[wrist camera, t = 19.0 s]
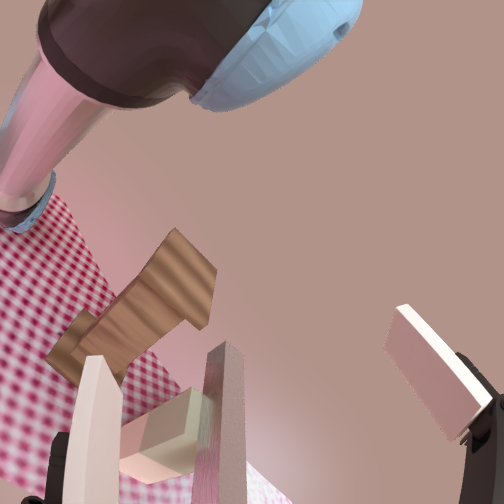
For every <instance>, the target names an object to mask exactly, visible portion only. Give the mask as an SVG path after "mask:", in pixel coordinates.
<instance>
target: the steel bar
mask: <svg viewBox="0 0 504 504" xmlns="http://www.w3.org/2000/svg"><path fill="white" fill-rule="evenodd" d="M243 361H244V359H243V354H242V353H241V352H239V351H238V350H237V349H236V348H234V347H233V346H232V345H231V344H229V343H228V342H227V341H224V342H223V343H221V344H220V345H219V346H217V347H216V348H214V349H213V350H212V351H210V352H209V353H208V355H207V363H206V371H205V378H204V387H203V395H202V403H201V411H200V420H199V429H198V438H197V447H196V457H195V467H194V477H193V488H192V499H191V504H247V481H246V450H245V449H246V448H245V407H244V364H243V363H244V362H243Z"/></svg>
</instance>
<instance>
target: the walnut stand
mask: <svg viewBox="0 0 504 504" xmlns="http://www.w3.org/2000/svg"><path fill="white" fill-rule="evenodd" d="M216 274H217V269H216V268H215V267H214V266H213V265H212V264H211V263H210V262H209V261H208V260H207V259H206V258H205V257H204V256H203V255H202V254H201V253H200V252H199V251H198V250H197V249H196V248H195V247H194V246H193V245H192V244H191V243H190V242H189V241H188V240H187V239H186V238H185V237H184V236H183V235H182V234H181V233H180V232H179V231H178V230H177V229H176V228H174V229H173V230H172V231H171V232H170V233H169V234H168V235H167V236H166V238H165V239H164V240H163V242H162V243H161V244H160V246H159V247H158V249H157V250H156V251H155V253H154V254H153V255H152V257H151V258H150V260H149V261H148V262H147V264H146V265H145V266H144V268H143V269H142V271H141V272H140V273H139V275H138V276H137V277H136V278H135V279H134V280H133V281H132V282H131V283H130V284H129V285H128V286H127V287H126V288H125V289H124V290H123V291H122V292H121V293H120V294H119V295H118V296H117V297H116V298H115V299H114V300H113V301H112V302H111V304H110V305H109V306H108V307H107V308H106V309H105V310H104V311H103V312H102V313H101V314H100V315H99V316H98V317H97V319H96V318H95V317H93V316H92V315H91V314H90V313H89V312H88V311H87V310H86V309H85V308H84V309H83V310H82V311H81V312H80V314H79V315H78V316H77V317H76V319H75V320H74V321H73V322H72V324H71V325H70V326H69V328H68V329H67V330H66V331H65V333H64V334H63V335H62V337H61V338H60V339H59V341H58V342H57V343H56V345H55V346H54V347H53V349H52V350H51V352H50V353H49V354H48V356H47V357H46V358H45V361H46V362H47V363H48V364H49V365H50V366H52V367H53V368H54V369H55V370H56V371H57V372H58V373H59V374H61V375H62V376H63V377H64V378H65V379H67V380H68V381H69V382H70V383H71V384H73V385H74V386H75V387H76V388H78V389H79V385H80V381H81V377H82V373H83V369H84V365H85V361H86V357H87V356H95V355H103V357H104V359H105V361H106V363H107V365H108V367H109V369H110V371H111V373H112V375H113V377H114V379H115V380H116V382H117V384H118V386H119V388H120V386H121V384H122V381H123V379H124V376H125V374H126V372H127V369H128V367H129V365H130V362H132V361H133V360H134V359H135V358H137V357H138V356H139V355H140V354H142V353H143V352H144V351H145V350H147V349H148V348H149V347H151V346H152V345H153V344H154V343H156V342H157V341H158V340H159V339H161V338H162V337H163V336H164V335H165V334H167V333H168V332H169V331H170V330H172V329H173V328H174V327H175V326H177V325H178V324H179V323H180V322H182V321H183V320H184V319H186V320H188V321H189V322H190V323H191V324H192V325H193V326H194V327H196V328H197V329H198V330H201V329H202V328H204V327H205V326H207V325H208V321H209V315H210V309H211V303H212V297H213V292H214V286H215V280H216Z"/></svg>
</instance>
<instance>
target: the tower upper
mask: <svg viewBox="0 0 504 504" xmlns="http://www.w3.org/2000/svg"><path fill="white" fill-rule="evenodd" d="M202 395H203V394H202V393H200V392H199V391H197V390H196V389H195V388H193V387H190V388H189V389H187V390H185V391H184V392H182V393H180V394H179V395H177V396H175V397H174V398H172V399H170V400H169V401H167V402H165V403H163V404H162V405H160V406H158V407H156V408H155V409H153V410H151V411H149V415H148V419H147V422H146V426H145V430H144V434H143V437H142V441H141V445H140V449H139V453H140V454H142V455H144V456H146V457H148V458H150V459H151V460H153V461H155V462H157V463H159V464H161V465H163V466H165V467H167V468H169V469H172V470H174V471H176V472H178V473H180V474H182V475H186V474H189V473H192V472H194V467H195V457H196V447H197V438H198V429H199V420H200V411H201V403H202Z"/></svg>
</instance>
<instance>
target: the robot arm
mask: <svg viewBox="0 0 504 504" xmlns="http://www.w3.org/2000/svg"><path fill="white" fill-rule="evenodd" d="M362 4H363V0H46V2H45V3H44V5H43V7H42V8H41V11H40V13H39V16H38V19H37V24H36V39H37V45H38V48H39V49H38V51H37V53H36V54H35V56H34V58H33V60H32V61H31V63H30V65H29V67H28V69H27V71H26V73H25V75H24V77H23V78H22V81H21V82H20V85H19V87H18V89H17V91H16V93H15V95H14V97H13V100H12V102H11V104H10V107H9V109H8V112H7V114H6V116H5V119H4V121H3V124H2V127H1V129H0V225H2V226H3V227H5V229H7V230H12V231H14V232H16V233H24V232H26V231H28V230H29V229H30V228H31V227H32V226H33V225H34V223H35V221H36V219H38V218H39V216H40V215H41V213H42V212H43V210H44V208H45V206H46V205H47V203H48V201H49V199H50V196H51V194H52V192H53V189H54V186H55V183H56V174H55V172H54V171H53V168H54V167H55V166H56V165H57V164H58V163H59V162H60V161H61V160H62V159H63V158H64V157H65V156H66V155H67V154H68V153H69V152H70V151H71V150H72V149H73V148H74V147H75V146H76V145H77V144H78V143H79V142H80V141H81V140H82V139H83V138H84V137H86V136H87V135H88V134H89V133H90V132H91V131H92V130H93V129H94V128H95V127H97V126H98V125H99V124H100V123H101V122H102V121H104V120H105V119H106V118H107V117H108V116H109V115H111V114H112V113H113V112H114V111H115V110H117V109H118V110H129V111H132V110H142V109H146V108H150V107H153V106H155V105H158V104H160V103H161V102H163V101H165V100H166V99H168V98H170V97H171V96H173V95H175V94H176V93H178V92H180V91H182V90H184V91H186V92H187V93H188V94H189V99H190V101H191V102H192V104H195V105H197V104H199V105H200V106H201V107H202V108H204V109H207V110H211V111H213V112H226V111H231V110H234V109H238V108H241V107H244V106H246V105H248V104H251V103H253V102H255V101H257V100H259V99H261V98H263V97H265V96H267V95H268V94H270V93H272V92H274V91H276V90H277V89H279V88H281V87H282V86H284V85H286V84H287V83H289V82H290V81H292V80H293V79H295V78H296V77H298V76H299V75H301V74H302V73H304V72H305V71H307V70H308V69H309V68H310V67H311V66H313V65H314V64H316V63H317V62H318V61H319V60H321V59H322V58H323V57H324V56H325V55H327V54H328V53H329V52H330V51H331V50H332V48H333V47H334V46H335V45H336V44H337V43H338V42H339V41H341V39H343V38H344V36H346V35H347V34H348V32H349V31H350V30H351V29H352V27H353V25H354V24H355V22H356V21H357V19H358V17H359V15H360V12H361V9H362ZM383 349H384V351H385V352H386V353H387V355H388V356H389V357H390V359H391V360H392V362H393V363H394V364H395V366H396V367H397V368H398V370H399V371H400V372H401V374H402V375H403V376H404V378H405V379H406V380H407V382H408V383H409V385H410V386H411V388H412V389H413V390H414V392H415V393H416V394H417V396H418V397H419V399H420V400H421V401H422V403H423V404H424V406H425V407H426V409H427V410H428V412H429V413H430V414H431V416H432V417H433V419H434V420H435V422H436V423H437V424H438V426H439V427H440V429H441V430H442V432H443V433H444V435H445V436H446V438H447V439H448V441H449V442H452V441H453V440H455V439H456V438H458V437H459V436H461V435H462V434H463V433H464V432H465V431H466V429H467V428H469V430H470V431H469V432H468V433H467V434H466V435H465V436H464V437H463V439H462V440H461V442H460V445H462V444H463V443H464V442H465V441H466V440H467V441H466V443H465V445H467V451H466V460H465V469H464V476H463V483H462V489H461V494H460V500H459V504H504V394H501V395H500V394H499V393H498V392H497V391H496V390H495V389H494V388H493V387H492V386H491V384H490V383H489V382H488V381H487V380H486V378H485V377H484V376H483V375H482V374H481V373H480V372H479V370H478V369H477V368H476V367H475V366H474V365H473V364H472V362H471V361H470V360H469V359H468V358H467V357H466V356H464V355H462V354H461V353H459V352H457V353H454V352H453V351H452V350H451V349H450V348H449V347H448V346H447V345H446V344H445V343H444V342H443V340H442V339H441V338H440V337H439V336H438V335H437V334H436V333H435V332H434V331H433V330H432V329H431V328H430V327H429V325H427V323H426V322H425V321H424V320H423V319H422V318H421V317H420V316H419V315H418V314H417V313H416V312H415V311H414V310H413V309H412V308H411V307H410V306H409V305H408V304H405V305H402V306H398V307H396V308H395V311H394V315H393V318H392V322H391V325H390V328H389V331H388V334H387V337H386V340H385V343H384V346H383ZM122 405H123V393H122V392H121V390H120V388H119V386H118V384H117V382H116V380H115V379H114V377H113V375H112V373H111V371H110V369H109V367H108V365H107V363H106V361H105V359H104V357H103V355H95V356H87V357H86V361H85V365H84V369H83V373H82V377H81V381H80V385H79V389H78V394H77V399H76V403H75V408H74V413H73V419H72V424H71V430H70V433H68V432H58V433H57V435H56V437H55V438H54V440H53V442H52V446H51V452H50V454H51V456H50V459H49V466H48V473H47V481H46V490H45V499H44V500H43V499H41V498H39V497H37V496H28V497H26V498H24V499H23V501H22V502H21V504H119V454H120V432H121V417H122Z"/></svg>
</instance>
